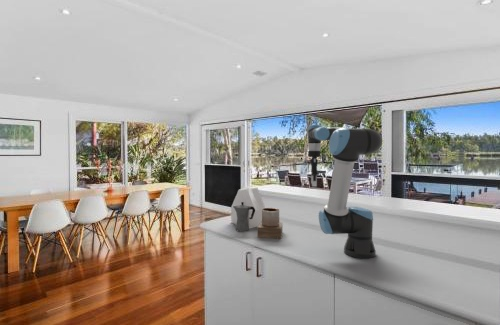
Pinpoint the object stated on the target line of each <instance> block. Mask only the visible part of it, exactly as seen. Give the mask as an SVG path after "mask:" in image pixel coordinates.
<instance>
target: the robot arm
mask: <svg viewBox="0 0 500 325" xmlns="http://www.w3.org/2000/svg"><path fill="white" fill-rule="evenodd" d="M307 132H308V134H307V136H308V138H307V140H308V141H307V143H308V144H307V145H306V146H307V150H308V151H307V156H308V158H311V159H310V166H311V169H310V170H311V171H310V174H311V175H310V176H311V177H310V184H311V187H318V158H321V155H322V154H321V148H322V147H321V146H322V143H321V142H322V141H329V142H328V143H329V144H328V146H329V147H328V150H329V153H330V155H331V157H332V158H333V159H334V162H333V163H334V164H333V170H332V177H331V183H330V184H331V185H330V189H329V194H328V203H326V204H325V205H324V207H323V209H322V210H320V211H319V212H318V223H319V226H320V230H321V231H322V233H324V234H325V235H343V234H346V235H347V238H346V240H345V241H346V242H345V243H344V247H343V252H344V254H345V255H347V256H350V257H353V258H358V259H372V258H374V257H376V255H377V254H376V248H375V244H374V242H373V228H374V227H373V225H374V215H373V212H372V210H369V209H367V208H364V207H358V206H348V207H347V203H348V198H349V194H350V186H351V183H352V176H353V171H354V167H355V166H354V165H355V163H356V162H358V161H359V157H360V156H363V155H372V154H375V153H376V152H377V151H379V150H380V149H381V147H382V145H383V137H382V135H381V134H380V133H379V132H378V131H377V130H374V129H371V128H351V127H330V126H329V127H325V126H322V125H320V124H309V126H308V130H307ZM317 157H318V158H317Z"/></svg>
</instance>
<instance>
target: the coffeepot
mask: <svg viewBox="0 0 500 325" xmlns="http://www.w3.org/2000/svg"><path fill="white" fill-rule="evenodd" d="M241 204H242V205H239V206H233V207H234V209H235V210H236V213H237V224H235V230H236V231H237V230H238V231H237V232H248V231H249V230H250V228H249V226H248V219H247V217H248V212H249V210H250V209H252V210H253V211H252V214H251V218H249V219H252V218H253V216H254V213H255V208H254V207H251V206H246V205H243V204H244V202H241Z"/></svg>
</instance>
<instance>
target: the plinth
mask: <svg viewBox="0 0 500 325" xmlns="http://www.w3.org/2000/svg"><path fill="white" fill-rule="evenodd" d="M282 236H283V222H280V221H279V225H278V226H276V227H266V226H263V225H262V222H260V224H259V226H257V238H260V239H261V238H265V239H278V240H279V239H282Z"/></svg>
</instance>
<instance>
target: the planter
mask: <svg viewBox="0 0 500 325" xmlns="http://www.w3.org/2000/svg"><path fill="white" fill-rule="evenodd" d="M279 222H280V209H279V208H276V207H265V208H264V209H262V225H263V226H266V227H276V226H278V225H279Z"/></svg>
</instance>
